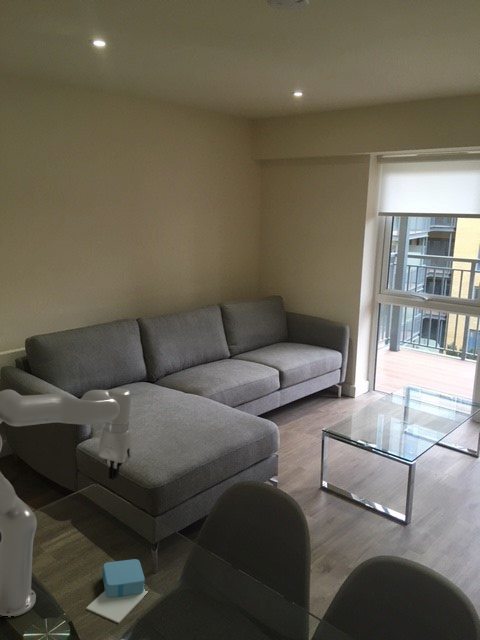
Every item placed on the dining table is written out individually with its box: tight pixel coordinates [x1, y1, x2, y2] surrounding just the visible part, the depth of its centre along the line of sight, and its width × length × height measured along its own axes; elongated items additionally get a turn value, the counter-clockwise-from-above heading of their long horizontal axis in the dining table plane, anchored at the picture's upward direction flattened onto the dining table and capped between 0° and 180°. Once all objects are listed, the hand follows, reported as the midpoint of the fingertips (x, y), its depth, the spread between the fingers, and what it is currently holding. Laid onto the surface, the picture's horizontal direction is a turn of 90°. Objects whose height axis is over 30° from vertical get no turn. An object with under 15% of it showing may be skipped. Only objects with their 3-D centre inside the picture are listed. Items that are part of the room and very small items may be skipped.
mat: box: [85, 589, 149, 624], centre depth 169 cm, size 12×18×1 cm, turn 157°
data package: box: [102, 558, 146, 598], centre depth 175 cm, size 12×4×12 cm
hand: (113, 477), depth 180 cm, fingers closed
